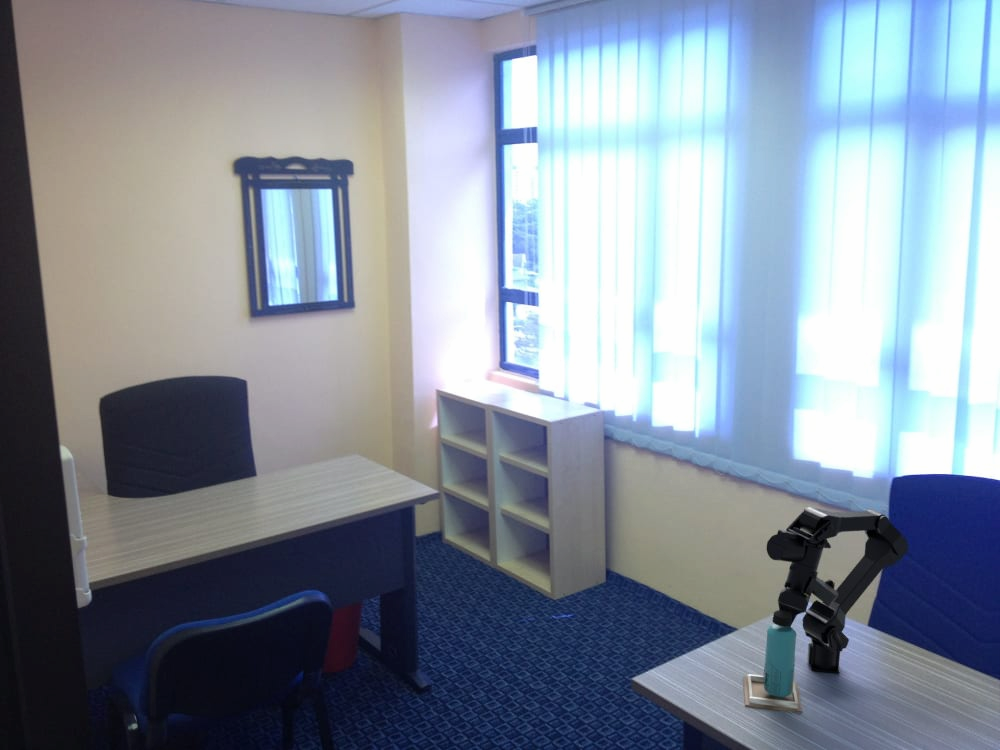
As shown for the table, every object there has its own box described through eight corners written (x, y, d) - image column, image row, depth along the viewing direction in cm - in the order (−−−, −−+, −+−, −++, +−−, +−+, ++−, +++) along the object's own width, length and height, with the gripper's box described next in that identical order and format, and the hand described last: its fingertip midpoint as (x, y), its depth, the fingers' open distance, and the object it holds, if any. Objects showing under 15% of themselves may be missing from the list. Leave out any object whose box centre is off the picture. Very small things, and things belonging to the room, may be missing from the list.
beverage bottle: (798, 700, 201) (805, 617, 197) (774, 706, 199) (780, 622, 194) (779, 685, 207) (785, 604, 203) (755, 691, 205) (761, 609, 200)
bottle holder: (797, 684, 208) (797, 677, 208) (802, 713, 197) (802, 706, 196) (743, 677, 211) (743, 671, 210) (745, 706, 199) (745, 699, 199)
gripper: (839, 583, 195) (819, 651, 197) (843, 567, 212) (824, 630, 214) (787, 566, 200) (768, 632, 201) (795, 552, 217) (777, 613, 218)
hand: (786, 627), depth 208 cm, fingers open, 9 cm apart
